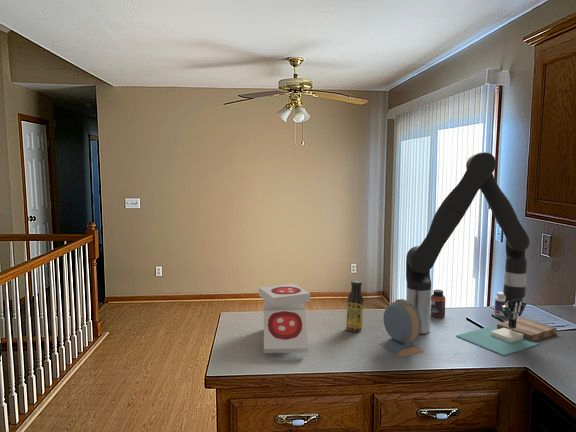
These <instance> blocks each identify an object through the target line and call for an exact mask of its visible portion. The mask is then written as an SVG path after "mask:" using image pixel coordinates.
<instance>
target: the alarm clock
mask: <svg viewBox="0 0 576 432" xmlns="http://www.w3.org/2000/svg"><path fill="white" fill-rule="evenodd" d="M385 308H386V309H384V312H383V326H384V329H385V331H386V332H387V334H388V335H389V336H390V338H389V339H388V340H386V341H383V342H380V343H379V345H380V346H381V345H382V347H383V348H385V349H387V350H388V349H389V351H390V350H391V351H390V352H391V353H394V354H395V353H396V355H397V356H399V357H401V358H405V357H409V356H412V355H413V354H414V355H418V354H422V353H424V352H425V351H424V350H423V349H421V348H420V347H419V346H417V345H415V344H414V343H413V342H412V341H414V340H415V339H416V338H417V337H418V336H419V335H420V334H419V333H420V331H421V326H422V322H421V317H420V314H419V312H418V310H417V309H416V308H415V307H414V306H413V305H412V304H410V303H409V302H408V301H406V299H403V298H398V299H395V300H394V301H393V302H392V303H390V304H389V305H388V306H387V307H385ZM421 352H422V353H421Z"/></svg>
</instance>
